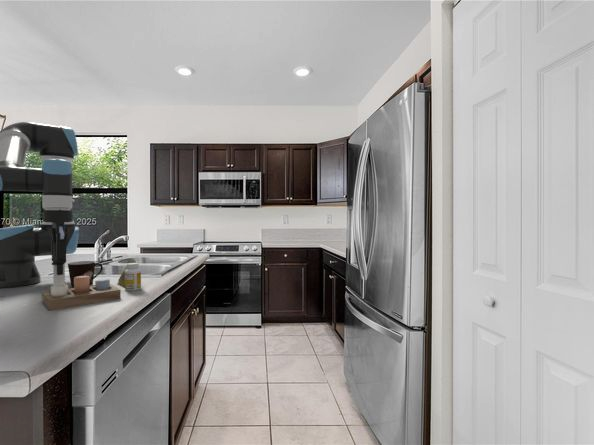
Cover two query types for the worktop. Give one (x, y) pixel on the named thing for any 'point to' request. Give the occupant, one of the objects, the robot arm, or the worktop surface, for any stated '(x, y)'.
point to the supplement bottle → (132, 277)
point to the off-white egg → (59, 290)
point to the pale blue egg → (102, 284)
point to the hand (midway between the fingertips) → (59, 284)
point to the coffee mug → (82, 270)
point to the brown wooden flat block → (80, 297)
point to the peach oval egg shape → (81, 284)
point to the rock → (122, 277)
